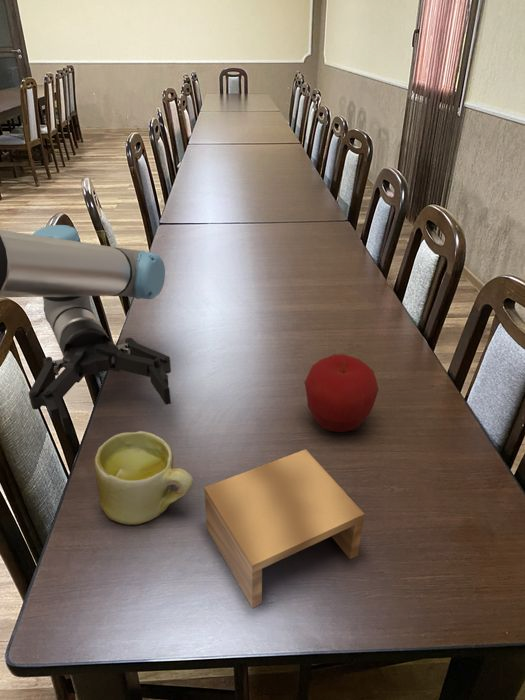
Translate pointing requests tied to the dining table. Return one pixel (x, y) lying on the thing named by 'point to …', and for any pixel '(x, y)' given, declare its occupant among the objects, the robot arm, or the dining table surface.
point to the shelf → (278, 517)
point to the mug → (137, 477)
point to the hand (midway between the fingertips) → (119, 410)
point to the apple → (340, 392)
